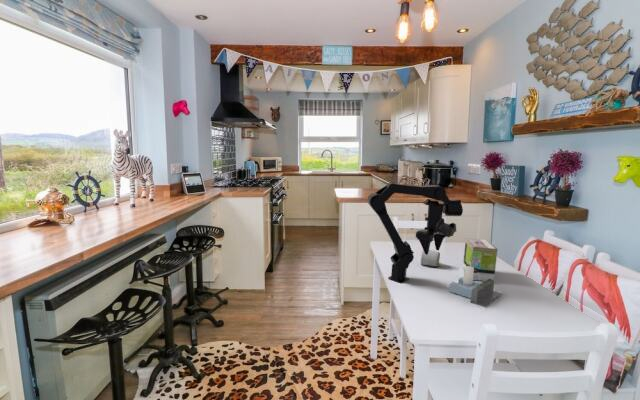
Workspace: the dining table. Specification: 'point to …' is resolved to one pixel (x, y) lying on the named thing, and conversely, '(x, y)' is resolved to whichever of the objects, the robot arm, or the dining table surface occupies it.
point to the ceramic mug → (430, 258)
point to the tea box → (480, 258)
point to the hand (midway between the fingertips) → (432, 252)
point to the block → (462, 288)
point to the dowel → (468, 276)
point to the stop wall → (484, 293)
